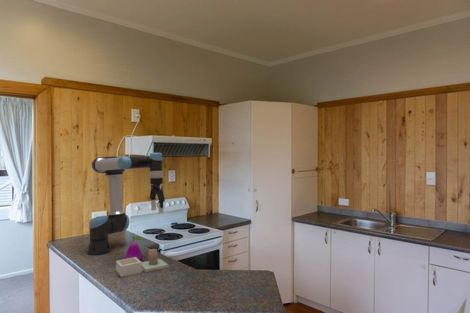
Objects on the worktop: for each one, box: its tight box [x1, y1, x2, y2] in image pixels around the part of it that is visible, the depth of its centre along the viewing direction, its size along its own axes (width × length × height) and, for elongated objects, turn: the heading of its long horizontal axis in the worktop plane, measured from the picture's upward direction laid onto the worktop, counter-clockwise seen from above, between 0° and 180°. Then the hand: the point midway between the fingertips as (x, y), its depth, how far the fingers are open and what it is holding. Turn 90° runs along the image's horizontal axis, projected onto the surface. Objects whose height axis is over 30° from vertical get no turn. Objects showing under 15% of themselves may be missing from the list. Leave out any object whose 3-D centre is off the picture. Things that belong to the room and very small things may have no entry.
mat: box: [142, 265, 170, 274], centre depth 185 cm, size 14×14×1 cm
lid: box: [141, 248, 169, 271], centre depth 185 cm, size 13×13×9 cm
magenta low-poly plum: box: [123, 236, 144, 261], centre depth 198 cm, size 11×11×15 cm
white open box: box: [115, 257, 143, 278], centre depth 177 cm, size 11×11×6 cm
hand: (157, 211), depth 198 cm, fingers open, 13 cm apart
